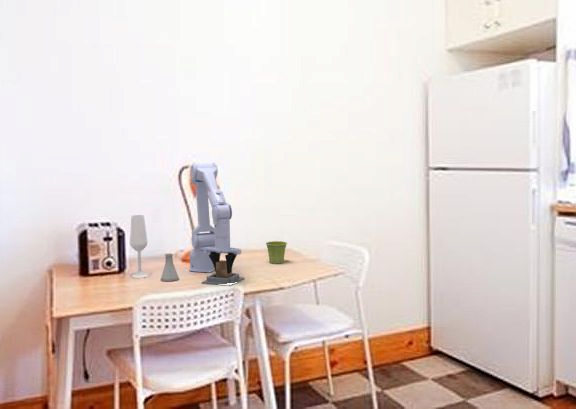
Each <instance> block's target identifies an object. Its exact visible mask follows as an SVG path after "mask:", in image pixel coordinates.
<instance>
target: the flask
mask: <svg viewBox="0 0 576 409" xmlns="http://www.w3.org/2000/svg"><path fill="white" fill-rule="evenodd" d="M164 256H165V263H164V267H163V270H162V273H161V275H160V276H161V277H160V281H163V282H172V281H173V282H174V281H179V280H180V278H179V275H178V272H177V269H176V267H175V264H174V259H173V256H174V253H171V252H169V253H164Z"/></svg>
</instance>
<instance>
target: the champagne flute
mask: <svg viewBox="0 0 576 409" xmlns="http://www.w3.org/2000/svg"><path fill="white" fill-rule="evenodd" d="M130 220H131V221H130V239H129V245H130V246H131V248H132V249H133V250H134V251H136V253H137V269H138V270H137V271H136V272H135V273H134V274H132V275H131V278H135V279H138V278H139V279H141V278H145V277H146V278H147V277H149V274H148V273H146V272H144V271H142V253H141V252H142V251H143V250H144V249H145V248H146V247H147V246H148V238H147V230H146V228H147V227H146V222H145V215H143V214H134V215H131V217H130Z"/></svg>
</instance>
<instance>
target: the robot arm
mask: <svg viewBox="0 0 576 409" xmlns="http://www.w3.org/2000/svg"><path fill="white" fill-rule="evenodd" d="M189 173H190V174H189V175H190V181H191V184H192V185H193V186H194V188H195V197H196V210H197V211H196V212H197V223H198V224H197V226H196V227H194V228H193V229H192V232H191V246H192V249H191V250H190V253H189V270H188V271H189V272H197V273H199V272H200V273H211V272H213V271H214V273H216V262H218V261H221V260H220V259H221V254H226V255H224V257H225V261H226V263H227V273H231V270H232V271H233V265H234V262H235V259H236V258H237V257H238V256H239V255H241V254H242V248H236V247H231V225H230V224H231V223H230V222H231V221H230V220H232V217H233V210H232V205H231V204H230V203H229V202H227V201H226V198H225V196H224V193H223V191H222V190H220V189H219V187H218V183H217V177H218V173H219V171H218V165H217V164H216V163H215V162H212V163H211V162H210V163H192V164H191V165H190V172H189ZM209 205H210V206H211V217H212V224H213V225H211V219H210V218H211V217H210V206H209ZM213 226H214V227H213Z"/></svg>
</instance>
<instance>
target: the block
mask: <svg viewBox="0 0 576 409" xmlns="http://www.w3.org/2000/svg"><path fill="white" fill-rule="evenodd" d="M215 273H216V277H217V278H229V277H231V276H232V273H233V269H232V270H231V273H227V263H226V260H225V259H223V260H220V261H218V262H216V272H215Z"/></svg>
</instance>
